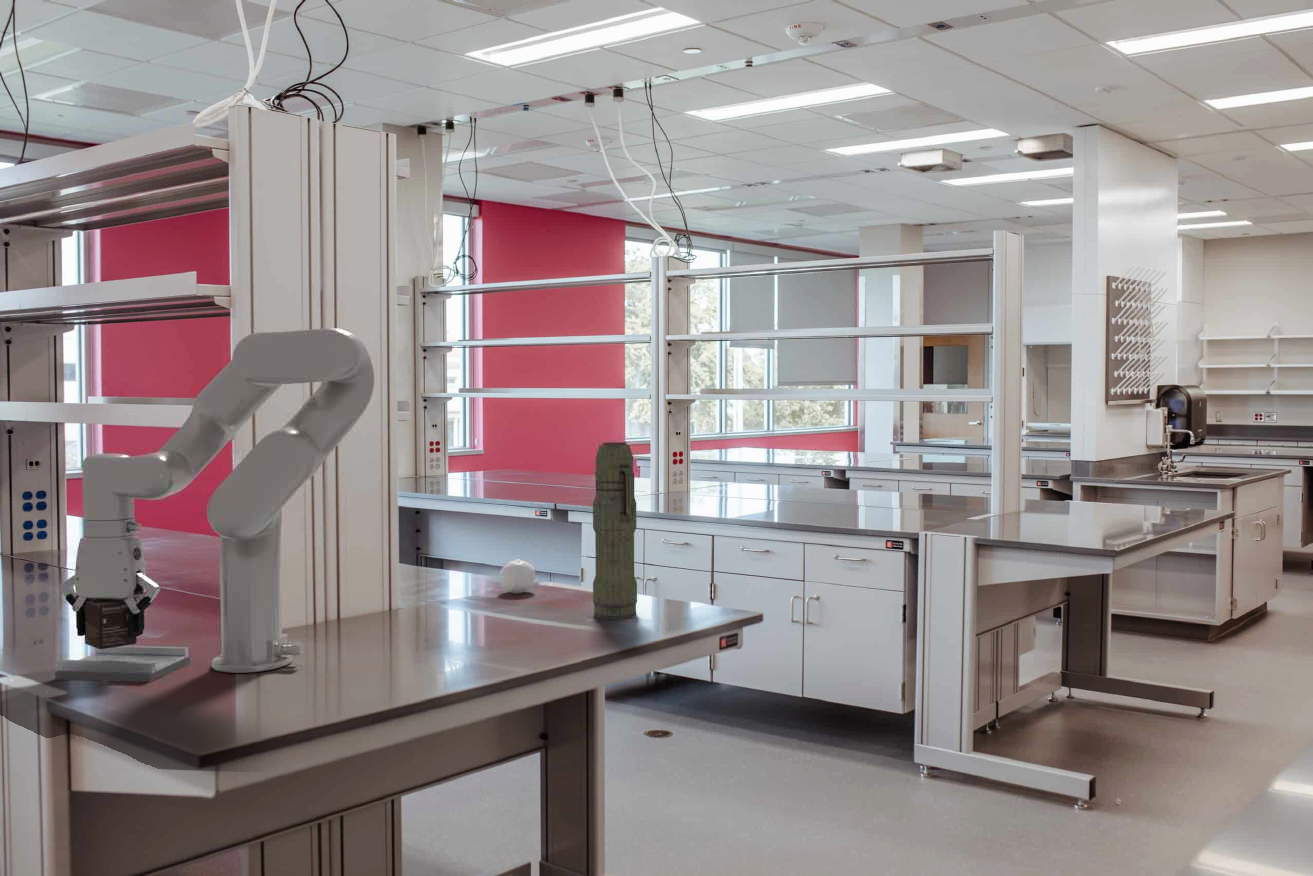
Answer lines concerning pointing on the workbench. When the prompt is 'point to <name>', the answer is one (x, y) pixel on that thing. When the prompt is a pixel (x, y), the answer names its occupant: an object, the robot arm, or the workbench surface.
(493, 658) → the workbench surface
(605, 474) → the thermos
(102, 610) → the box
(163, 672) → the panel
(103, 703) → the workbench surface
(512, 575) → the white ball
